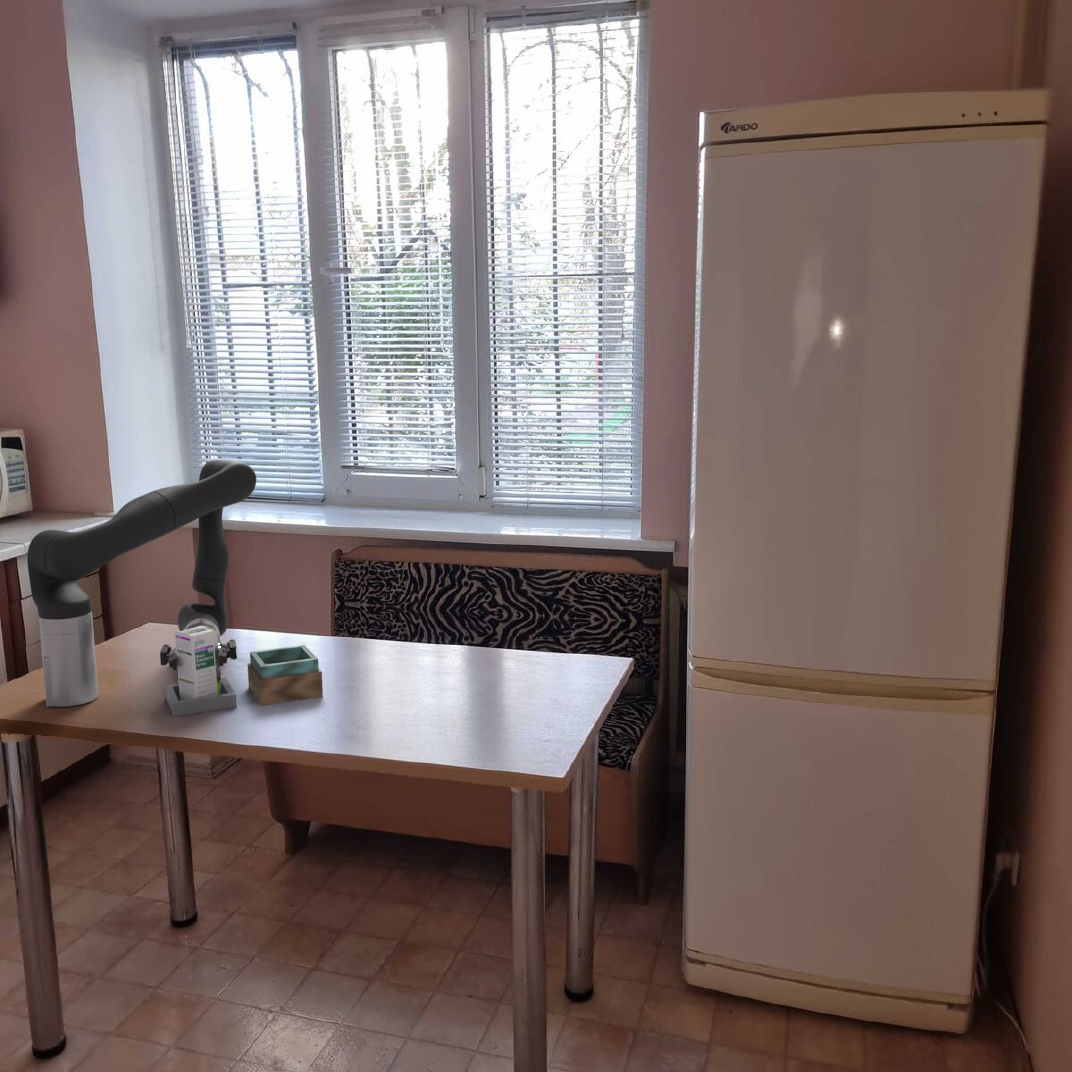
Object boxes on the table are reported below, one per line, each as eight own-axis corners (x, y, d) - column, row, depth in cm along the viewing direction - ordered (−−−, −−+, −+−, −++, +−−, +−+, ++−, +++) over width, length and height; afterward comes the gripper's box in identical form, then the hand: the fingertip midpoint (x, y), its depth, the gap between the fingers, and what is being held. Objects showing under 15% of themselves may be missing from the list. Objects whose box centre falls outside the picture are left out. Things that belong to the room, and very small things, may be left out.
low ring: (173, 716, 179) (172, 703, 178) (165, 697, 189) (165, 685, 188) (236, 706, 184) (235, 694, 183) (226, 689, 194) (225, 677, 193)
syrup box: (196, 709, 182) (192, 635, 180) (178, 703, 186) (174, 630, 183) (222, 701, 187) (218, 629, 184) (204, 695, 190) (200, 624, 188)
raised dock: (260, 705, 185) (259, 667, 183) (248, 687, 195) (246, 651, 194) (322, 696, 190) (321, 659, 189) (307, 678, 201) (306, 643, 199)
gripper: (162, 625, 196) (156, 647, 180) (235, 619, 200) (236, 640, 184) (164, 660, 197) (159, 685, 182) (237, 654, 201) (238, 678, 186)
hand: (198, 662), depth 183 cm, fingers closed on syrup box, 8 cm apart
